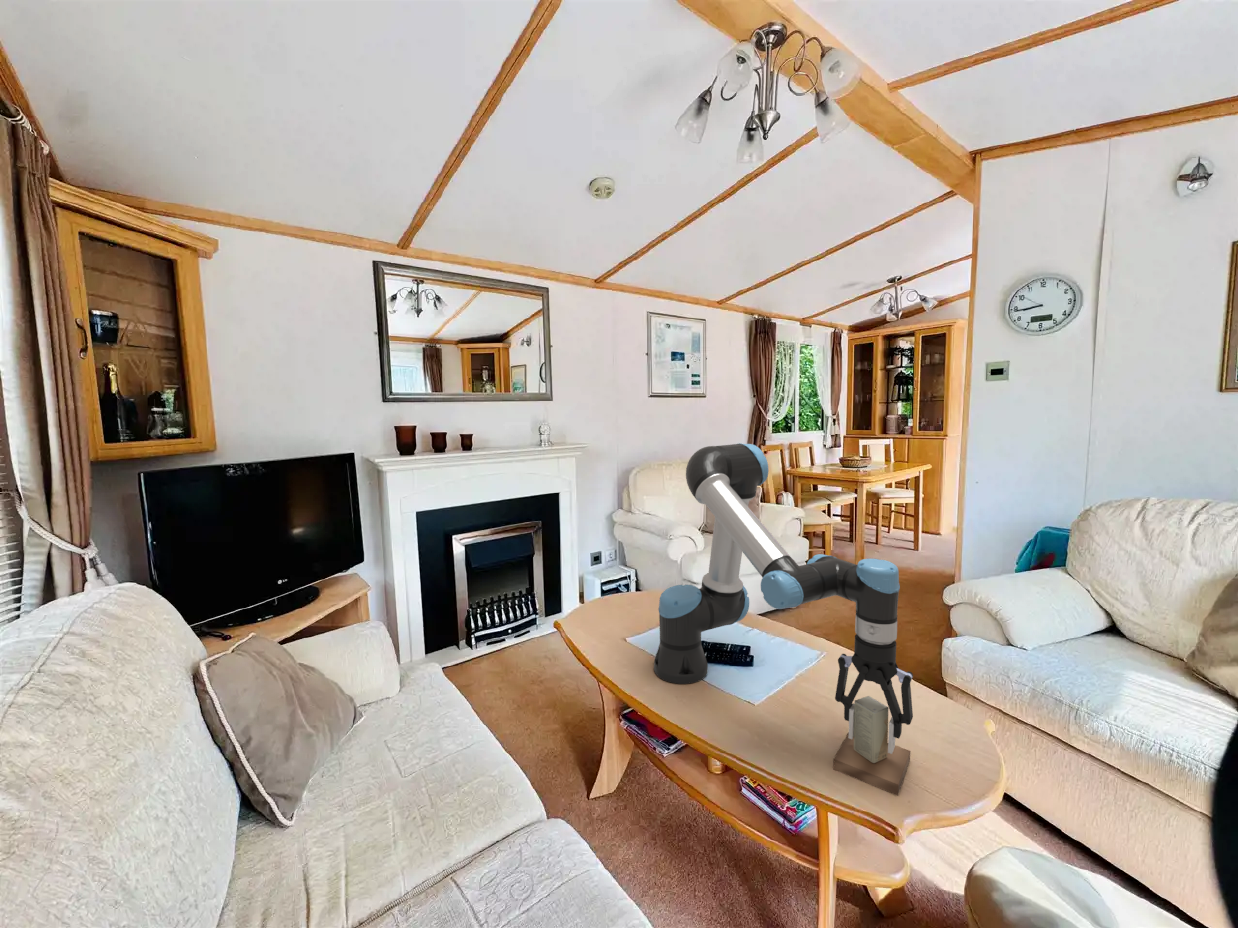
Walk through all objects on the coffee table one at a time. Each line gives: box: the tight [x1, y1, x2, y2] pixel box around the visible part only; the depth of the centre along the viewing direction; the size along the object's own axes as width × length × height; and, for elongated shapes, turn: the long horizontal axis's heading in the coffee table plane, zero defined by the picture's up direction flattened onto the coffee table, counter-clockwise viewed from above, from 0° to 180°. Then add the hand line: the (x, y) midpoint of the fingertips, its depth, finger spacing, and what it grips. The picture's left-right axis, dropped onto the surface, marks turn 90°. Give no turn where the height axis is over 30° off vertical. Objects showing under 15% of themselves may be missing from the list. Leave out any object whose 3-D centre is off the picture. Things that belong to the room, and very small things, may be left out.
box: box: [854, 695, 889, 763], centre depth 107 cm, size 5×4×11 cm
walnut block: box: [832, 731, 911, 797], centre depth 108 cm, size 12×12×3 cm
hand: (871, 742), depth 107 cm, fingers open, 7 cm apart
